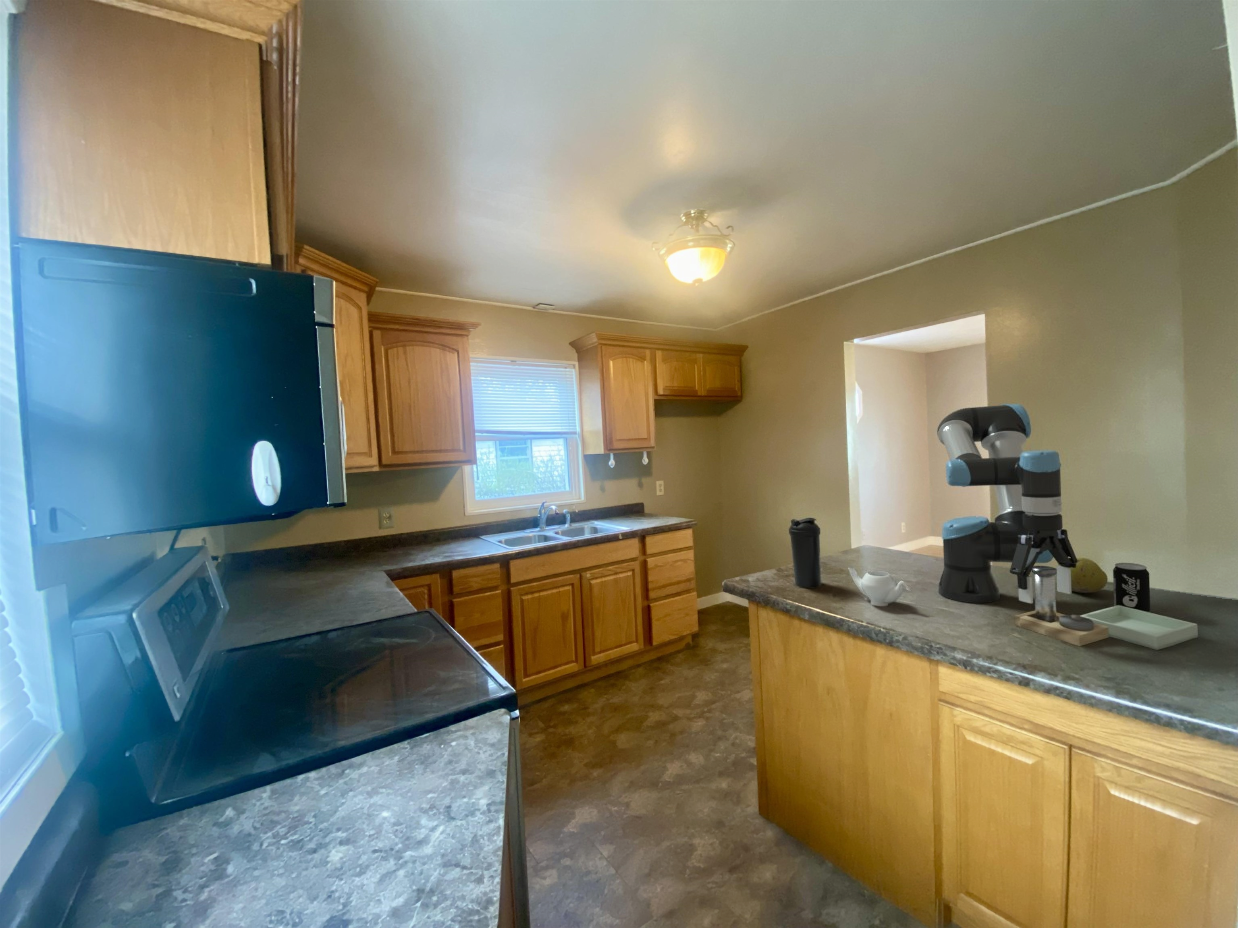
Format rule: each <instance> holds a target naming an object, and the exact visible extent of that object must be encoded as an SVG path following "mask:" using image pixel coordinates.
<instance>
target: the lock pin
mask: <svg viewBox="0 0 1238 928" xmlns="http://www.w3.org/2000/svg"><path fill="white" fill-rule="evenodd" d="M1031 573H1033V583H1034V584H1033V585H1034V586H1033V587H1034V588H1033V589H1034V611H1035V614H1036V619H1039V620H1042V621H1045V622H1049V623H1053V622H1056V621H1057V618H1056V613H1057V595H1056V591H1057V590H1056V574H1057V569H1056V567H1053V566H1047V565H1034V566H1033V568H1032V570H1031Z"/></svg>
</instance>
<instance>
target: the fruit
mask: <svg viewBox="0 0 1238 928" xmlns="http://www.w3.org/2000/svg"><path fill="white" fill-rule="evenodd" d="M1077 561H1078V562H1077V564H1076V568H1072V567H1071V592H1076V593H1079V594H1086V593H1087V594H1088V593H1095V592H1099V591H1101V590H1102V589H1104V588H1105V586H1106V585H1107V584H1108V575H1107V573H1106V572H1105V571H1103V569H1102V568H1101V567H1100V566H1099V565H1098V564H1097V563H1096V562H1095V561H1094V560H1092V559H1090V558H1086V557H1078V558H1077ZM1057 566H1061V565H1059V564H1058V563H1057ZM1055 578H1057V574H1056V575H1055Z"/></svg>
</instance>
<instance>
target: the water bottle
mask: <svg viewBox="0 0 1238 928" xmlns="http://www.w3.org/2000/svg"><path fill="white" fill-rule="evenodd" d="M815 521H817V519H816V518H815V517H806V518H802V519H799V520H798V519H796V518H793V519H791V520H790V523H791V524H790V526H789V527H788V534H789V536H790V547H791V556H792V564H793V577H794V584H795V586H796V587H799V588H803V589H816V588H820V587H821V586H822V580H821V579H822V576H821V573H822V571H821V570H822V568H821V564H822V563H821V547H820V546H821V545H820V544H821V543H820V542H821V541H820V536H821V527H819V525H818V524H817V523H816V522H815Z"/></svg>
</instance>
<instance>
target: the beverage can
mask: <svg viewBox="0 0 1238 928" xmlns="http://www.w3.org/2000/svg"><path fill="white" fill-rule="evenodd" d="M1112 579H1113V581H1112V583H1113V606H1117V605H1120V606H1124V607H1128V608H1132V609H1136V610H1141V611H1145V612H1149V613H1150V612H1151V591H1150V590H1151V589H1150V588H1151V587H1150V586H1151V585H1150V572H1149V570H1148V569H1147V566H1146V565H1144V564H1140V563H1135V562H1134V563H1133V562H1132V563H1131V562H1118V563H1115V564H1114V568H1113V569H1112Z"/></svg>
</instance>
